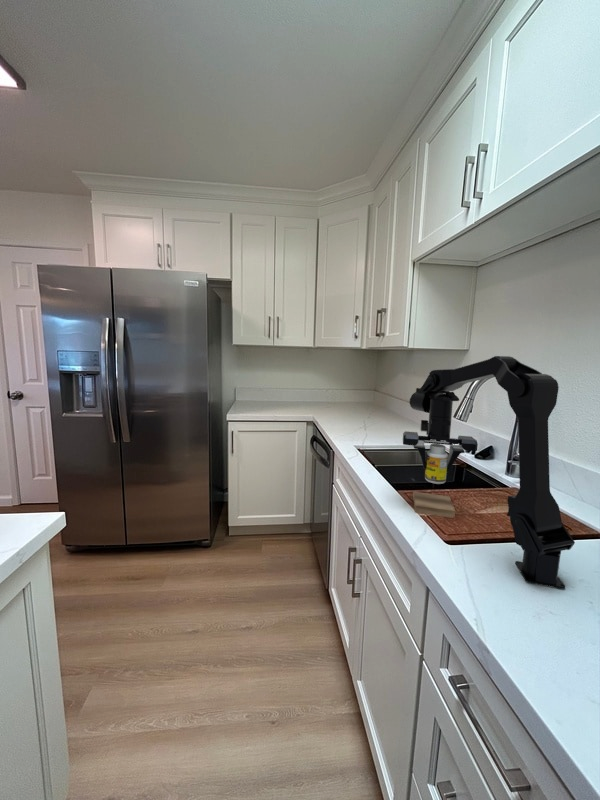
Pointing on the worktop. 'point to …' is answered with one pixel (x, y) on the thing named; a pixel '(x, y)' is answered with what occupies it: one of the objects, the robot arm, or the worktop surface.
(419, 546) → the worktop surface
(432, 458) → the supplement bottle
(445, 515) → the beige square slab
